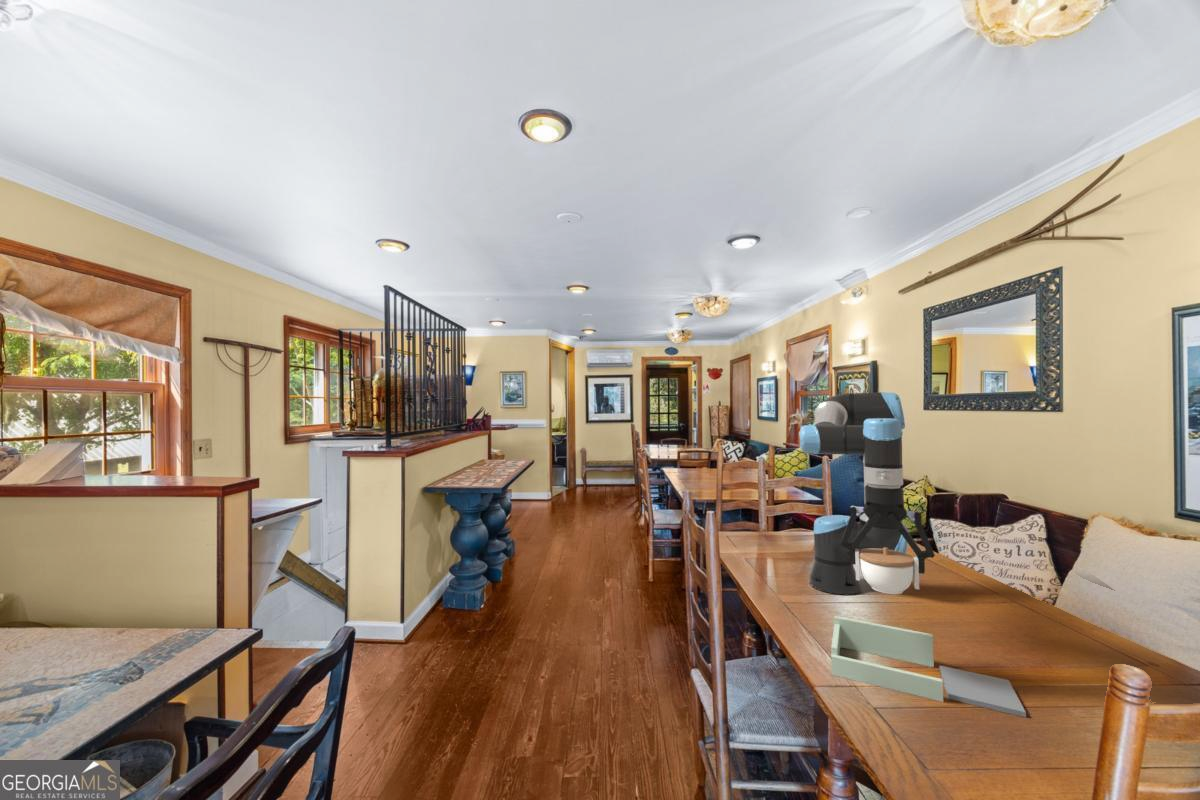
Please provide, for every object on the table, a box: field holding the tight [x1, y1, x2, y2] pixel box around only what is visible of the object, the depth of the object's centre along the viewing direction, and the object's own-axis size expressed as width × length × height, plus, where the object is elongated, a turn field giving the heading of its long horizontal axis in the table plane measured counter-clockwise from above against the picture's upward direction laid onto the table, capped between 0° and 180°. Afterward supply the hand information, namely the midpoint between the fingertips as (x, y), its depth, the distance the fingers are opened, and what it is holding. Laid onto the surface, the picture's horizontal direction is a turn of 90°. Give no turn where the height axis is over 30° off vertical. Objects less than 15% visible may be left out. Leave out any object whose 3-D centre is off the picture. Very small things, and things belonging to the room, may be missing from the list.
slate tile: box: [938, 665, 1027, 718], centre depth 96 cm, size 12×12×1 cm
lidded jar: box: [859, 547, 914, 595], centre depth 104 cm, size 11×11×9 cm
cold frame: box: [830, 615, 944, 703], centre depth 104 cm, size 16×20×7 cm
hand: (886, 582), depth 104 cm, fingers closed on lidded jar, 11 cm apart
